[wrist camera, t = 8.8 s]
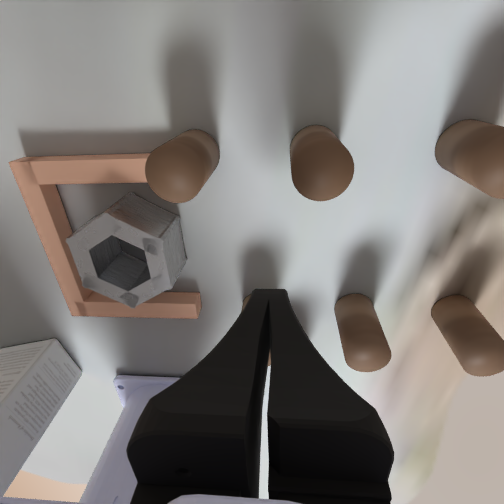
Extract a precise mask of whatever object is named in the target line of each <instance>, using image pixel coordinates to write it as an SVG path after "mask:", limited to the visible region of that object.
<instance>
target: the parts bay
mask: <svg viewBox="0 0 504 504" xmlns="http://www.w3.org/2000/svg"><path fill="white" fill-rule="evenodd" d="M150 154H151V153H143V154H108V155H74V156H40V157H23V158H20V159H17V160H14V161H11V162H9V165H10V167H11V170H12V172H13V174H14V177H15V179H16V182H17V184H18V186H19V189H20V191H21V194H22V196H23V199H24V201H25V203H26V206H27V208H28V211H29V213H30V215H31V218H32V220H33V223H34V225H35V228H36V230H37V232H38V235H39V237H40V240H41V242H42V244H43V247H44V249H45V252H46V254H47V257H48V259H49V261H50V264H51V266H52V269H53V271H54V273H55V276H56V278H57V281H58V283H59V286H60V288H61V290H62V293H63V295H64V298H65V300H66V302H67V305H68V307H69V310H70V312H71V315H72V316H97V317H141V318H184V319H198V316H199V313H200V310H201V308H202V305H201V299H200V293H197V292H162V293H160V294H158V295H156V296H155V297H153V298H151V299H149V300H147V301H145V302H143V303H141V304H139V305H137V306H136V307H135V309H134V308H132V309H131V308H130V307H129V306H127V305H125V304H123V303H120V302H118V301H116V300H113V299H111V298H109V297H106V296H104V295H102V294H100V293H97V292H95V291H93V290H90V289H88V288H84V287H83V286H82V284H83V283H82V281H81V278H80V275H79V273H78V270H77V267H76V264H75V262H74V259H73V256H72V254H71V251H70V248H69V245H68V244H67V243H66V238H67V237H68V236H70V235H71V234H72V230H71V227H70V224H69V221H68V219H67V216H66V213H65V210H64V207H63V205H62V202H61V199H60V196H59V193H58V190H57V188H56V185H55V184H93V183H143V182H147V180H146V176H145V164H146V161H147V158H148V156H149V155H150Z"/></svg>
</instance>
